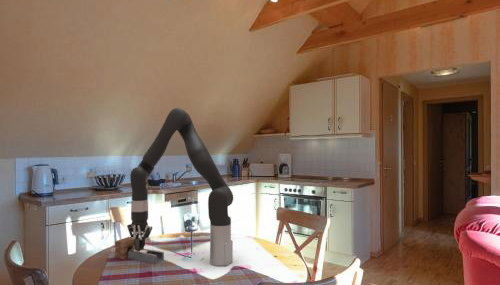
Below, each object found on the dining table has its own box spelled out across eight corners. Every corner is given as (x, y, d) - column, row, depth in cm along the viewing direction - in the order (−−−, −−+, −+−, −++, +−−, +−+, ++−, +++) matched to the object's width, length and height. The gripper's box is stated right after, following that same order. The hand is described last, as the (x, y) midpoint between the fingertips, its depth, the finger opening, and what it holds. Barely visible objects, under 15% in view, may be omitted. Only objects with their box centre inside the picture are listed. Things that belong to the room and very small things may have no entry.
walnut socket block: (136, 253, 157) (136, 237, 157) (123, 259, 149) (123, 242, 149) (128, 252, 159) (128, 236, 159) (115, 257, 151) (115, 241, 151)
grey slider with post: (148, 255, 150) (148, 238, 150) (143, 257, 147) (144, 240, 148) (127, 251, 156) (127, 235, 156) (122, 253, 153) (122, 236, 153)
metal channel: (163, 259, 148) (163, 252, 148) (155, 263, 143) (155, 255, 143) (136, 254, 155) (136, 247, 155) (127, 258, 150) (128, 250, 150)
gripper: (157, 209, 151) (156, 246, 151) (134, 207, 157) (134, 243, 157) (145, 212, 144) (145, 251, 144) (122, 209, 150) (122, 247, 150)
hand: (139, 246), depth 151 cm, fingers closed on grey slider with post, 2 cm apart
